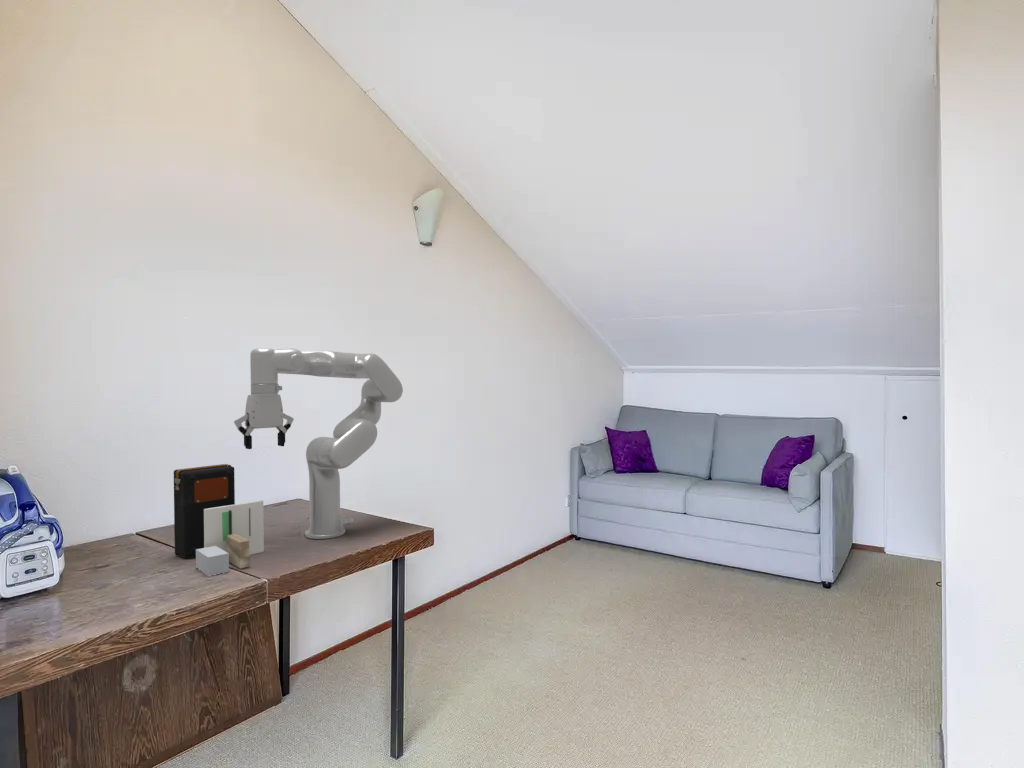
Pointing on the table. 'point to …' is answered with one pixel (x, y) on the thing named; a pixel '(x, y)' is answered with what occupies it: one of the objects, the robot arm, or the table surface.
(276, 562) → the table surface
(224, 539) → the white board with blocks
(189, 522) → the voltmeter
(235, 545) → the tall beige wooden block
